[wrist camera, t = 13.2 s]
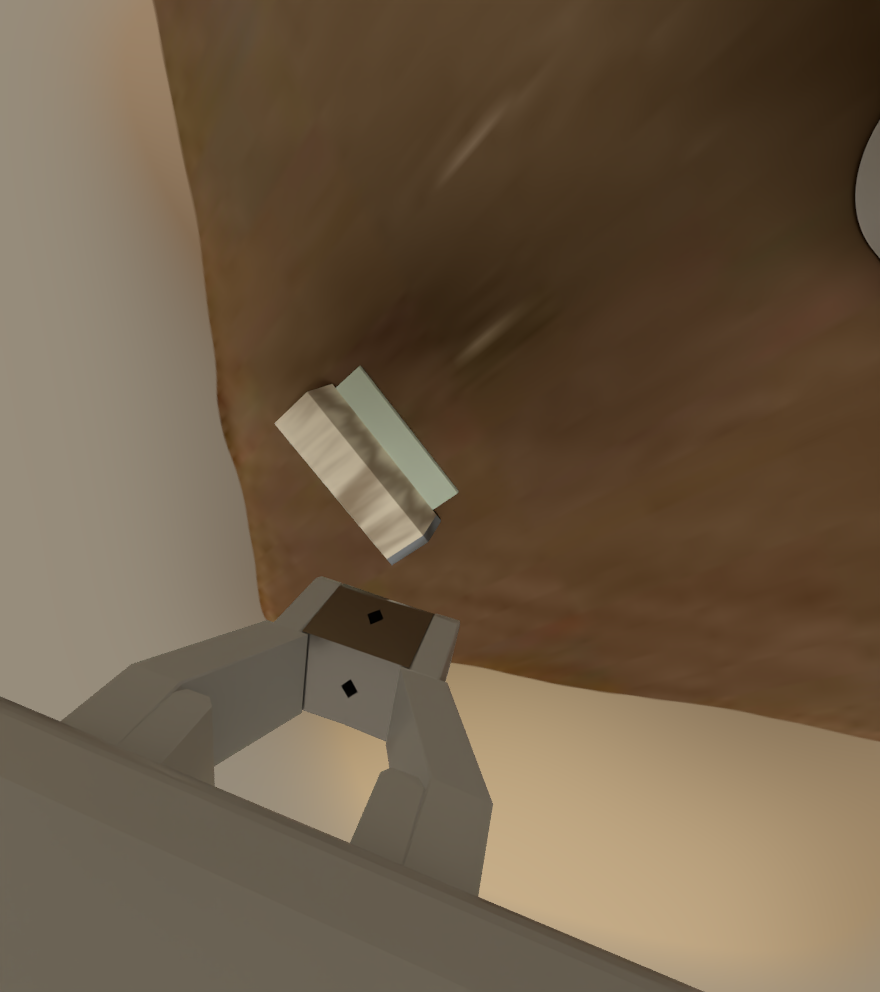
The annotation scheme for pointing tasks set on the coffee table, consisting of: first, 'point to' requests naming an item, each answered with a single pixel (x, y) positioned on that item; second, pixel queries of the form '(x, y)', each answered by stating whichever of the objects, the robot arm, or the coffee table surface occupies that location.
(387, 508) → the maple block
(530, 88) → the coffee table surface
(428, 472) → the sage mat
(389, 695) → the robot arm
